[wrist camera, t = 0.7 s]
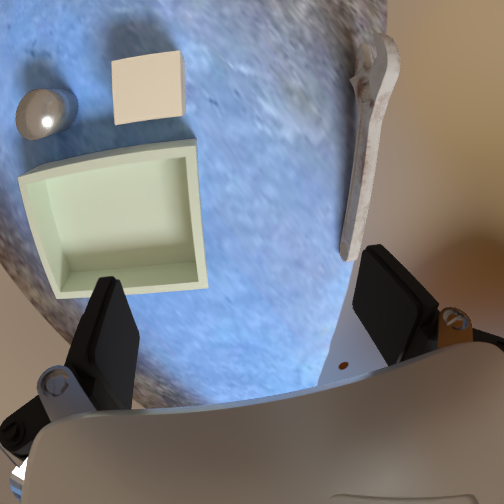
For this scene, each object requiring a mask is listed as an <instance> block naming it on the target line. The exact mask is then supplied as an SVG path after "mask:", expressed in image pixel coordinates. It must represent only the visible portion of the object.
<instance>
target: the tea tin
mask: <svg viewBox="0 0 504 504" xmlns="http://www.w3.org/2000/svg"><path fill="white" fill-rule="evenodd" d="M77 114H78V100H77V98H76V96H75V94H74V93H73V92H72V91H70V90H68V89H36V90H33V91H30V92H29V93H27V94H26V95H25V96H24V97H23V98H22V100H21V101H20V103H19V105H18V108H17V111H16V126H17V129H18V131H19V133H20V134H21V135H22V136H23V137H24V138H26V139H28V140H37V139H40V138H43V137H46V136H49V135H52V134H55V133H58V132H61V131H64V130H66V129H67V128H69V127H70V126H71V125H72V124H73V122H74V121H75V119H76V117H77Z"/></svg>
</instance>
